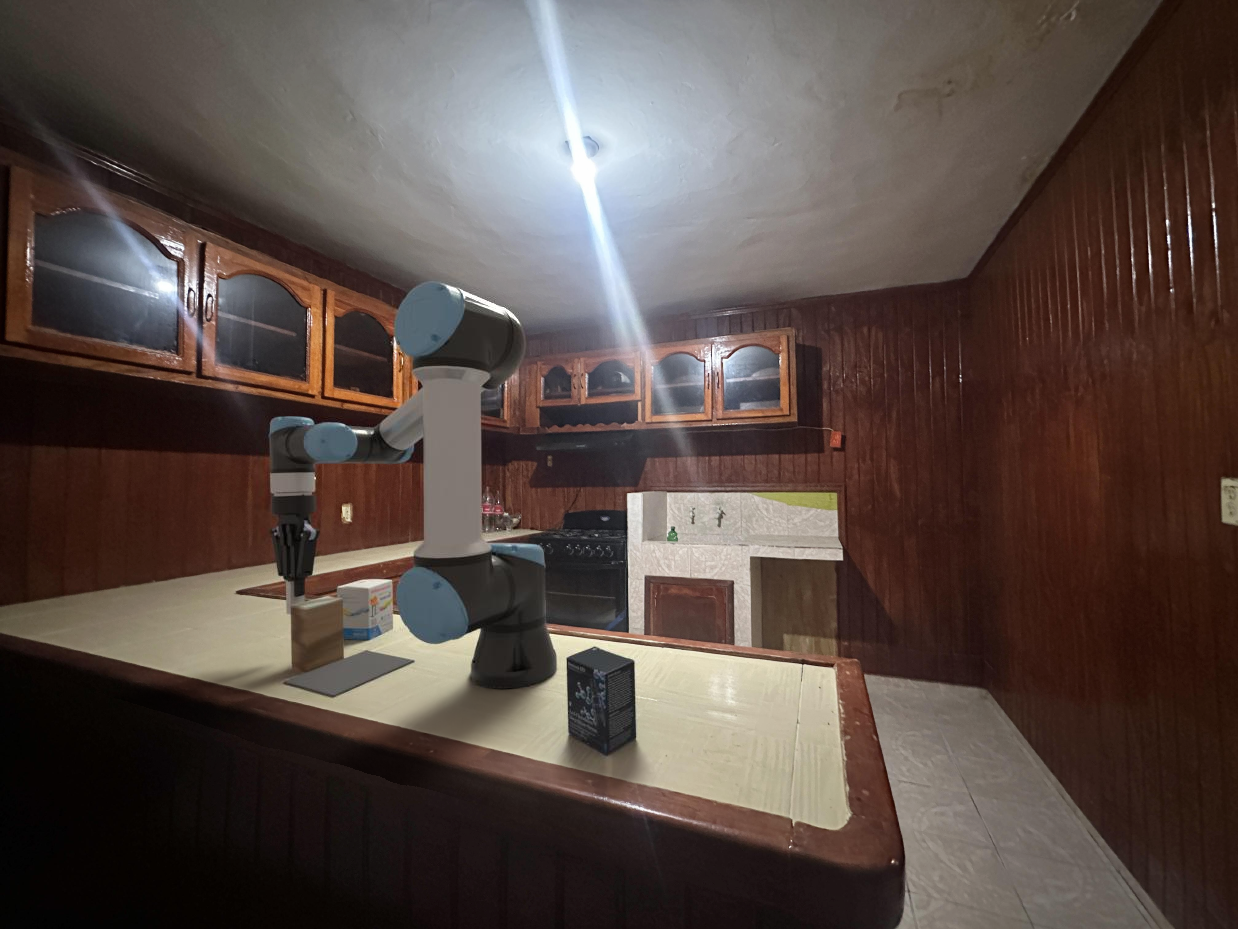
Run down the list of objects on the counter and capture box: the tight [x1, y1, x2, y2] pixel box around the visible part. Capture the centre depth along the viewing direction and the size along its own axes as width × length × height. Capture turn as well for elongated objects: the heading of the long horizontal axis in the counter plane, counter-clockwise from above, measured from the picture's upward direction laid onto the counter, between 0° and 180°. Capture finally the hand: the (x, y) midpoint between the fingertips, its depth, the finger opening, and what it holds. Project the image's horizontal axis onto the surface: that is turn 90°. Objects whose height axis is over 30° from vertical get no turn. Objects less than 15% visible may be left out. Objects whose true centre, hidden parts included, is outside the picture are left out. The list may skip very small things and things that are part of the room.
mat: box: [282, 650, 415, 698], centre depth 89 cm, size 14×16×1 cm
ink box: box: [336, 578, 394, 641], centre depth 112 cm, size 9×8×12 cm
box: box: [565, 645, 637, 756], centre depth 65 cm, size 8×6×11 cm
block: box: [290, 595, 345, 673], centre depth 94 cm, size 5×7×12 cm
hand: (295, 612), depth 97 cm, fingers closed
